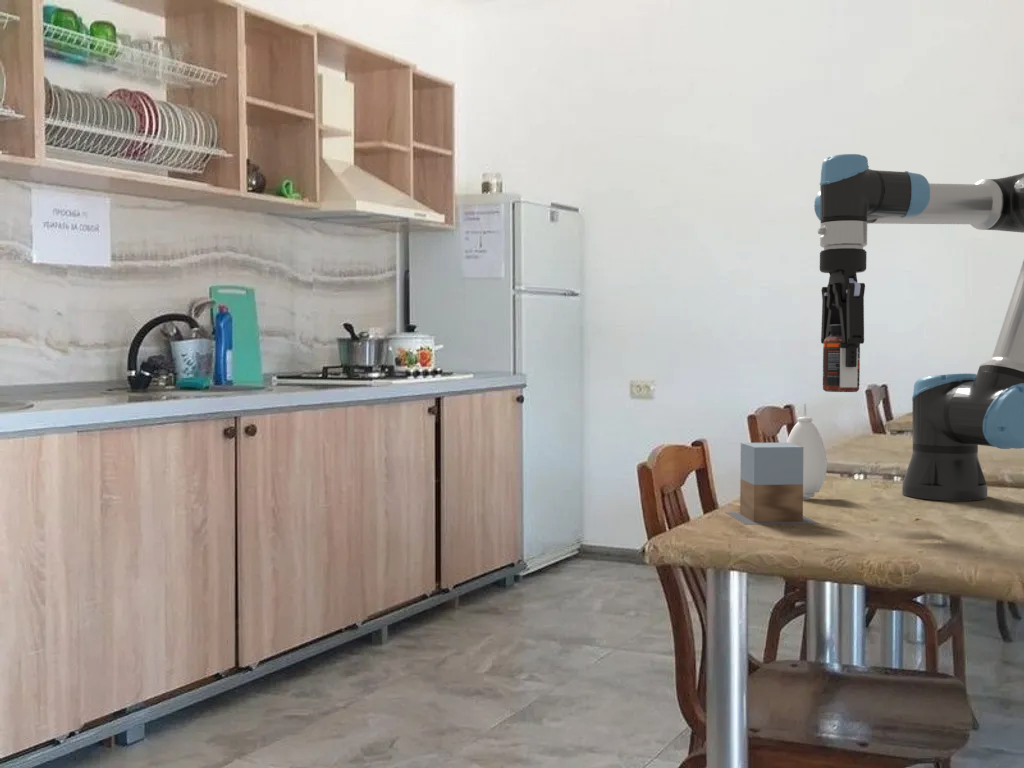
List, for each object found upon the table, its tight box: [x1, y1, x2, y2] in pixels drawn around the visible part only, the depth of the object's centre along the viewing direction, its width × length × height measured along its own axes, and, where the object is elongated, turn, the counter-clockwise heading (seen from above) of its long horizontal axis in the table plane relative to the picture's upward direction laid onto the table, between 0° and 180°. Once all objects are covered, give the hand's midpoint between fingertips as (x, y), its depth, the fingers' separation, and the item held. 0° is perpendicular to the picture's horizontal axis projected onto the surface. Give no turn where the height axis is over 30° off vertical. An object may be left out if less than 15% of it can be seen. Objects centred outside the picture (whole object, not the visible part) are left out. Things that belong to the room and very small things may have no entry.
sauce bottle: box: [785, 403, 828, 501], centre depth 204 cm, size 8×8×18 cm
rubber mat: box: [725, 511, 820, 526], centre depth 178 cm, size 12×12×1 cm
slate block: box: [740, 442, 803, 485], centre depth 178 cm, size 8×8×6 cm
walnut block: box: [739, 479, 804, 522], centre depth 178 cm, size 8×8×6 cm
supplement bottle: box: [822, 325, 861, 393], centre depth 183 cm, size 6×6×11 cm
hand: (841, 386), depth 183 cm, fingers closed on supplement bottle, 6 cm apart
